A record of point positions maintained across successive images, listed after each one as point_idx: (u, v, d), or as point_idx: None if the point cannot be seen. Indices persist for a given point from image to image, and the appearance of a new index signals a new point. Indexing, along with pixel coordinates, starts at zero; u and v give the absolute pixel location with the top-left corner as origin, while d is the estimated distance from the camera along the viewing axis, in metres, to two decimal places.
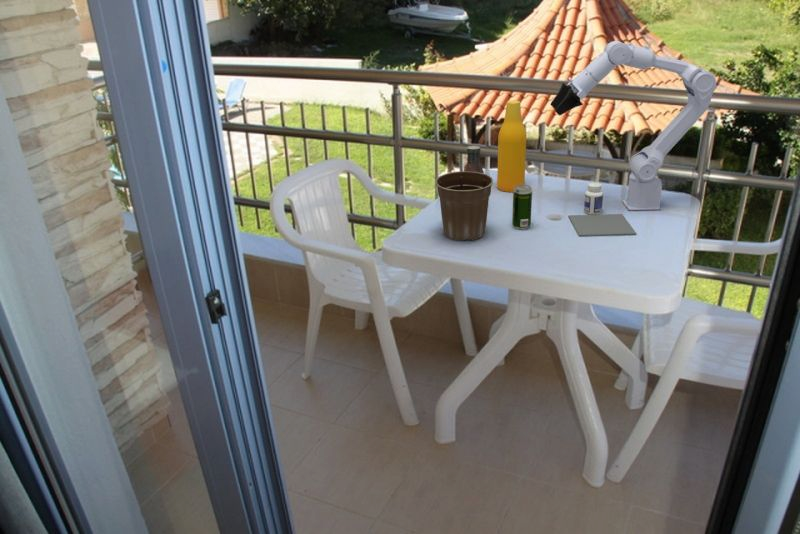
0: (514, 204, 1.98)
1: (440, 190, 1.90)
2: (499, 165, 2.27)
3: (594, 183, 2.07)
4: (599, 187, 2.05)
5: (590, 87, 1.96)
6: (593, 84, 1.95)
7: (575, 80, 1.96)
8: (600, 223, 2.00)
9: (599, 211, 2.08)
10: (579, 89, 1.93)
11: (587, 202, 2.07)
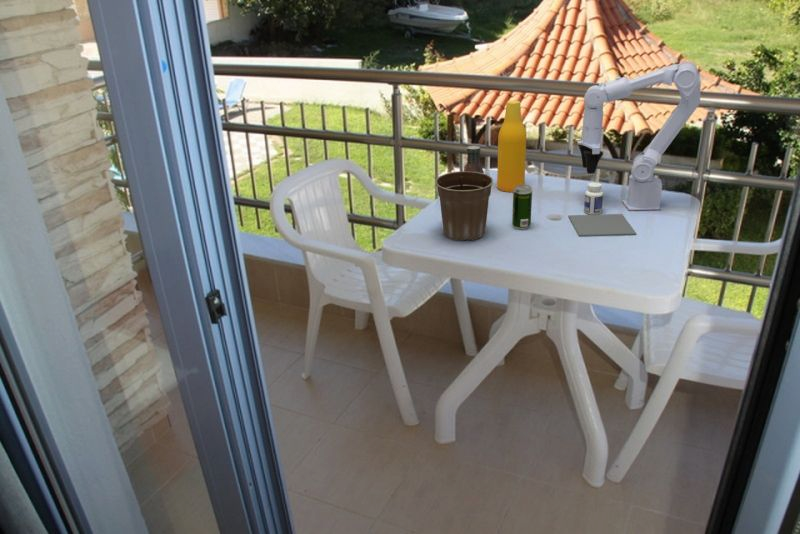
0: (514, 204, 1.98)
1: (440, 190, 1.90)
2: (499, 165, 2.27)
3: (594, 183, 2.07)
4: (599, 187, 2.05)
5: (598, 136, 2.07)
6: (599, 132, 2.06)
7: (583, 141, 2.09)
8: (600, 223, 2.00)
9: (599, 211, 2.08)
10: (591, 147, 2.05)
11: (587, 202, 2.07)
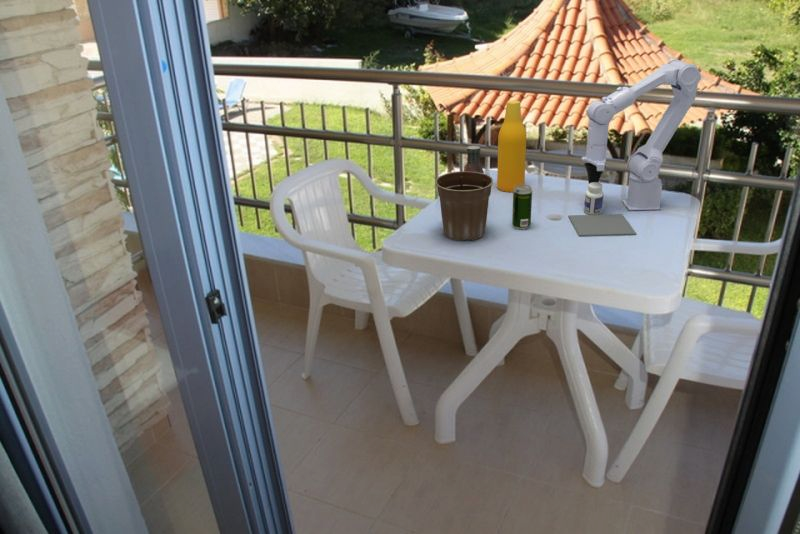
0: (514, 204, 1.98)
1: (440, 190, 1.90)
2: (499, 165, 2.27)
3: (595, 183, 2.06)
4: (600, 188, 2.04)
5: (603, 152, 2.01)
6: (603, 148, 2.01)
7: (587, 157, 2.03)
8: (600, 223, 2.00)
9: (599, 211, 2.07)
10: (595, 164, 2.00)
11: (587, 202, 2.07)
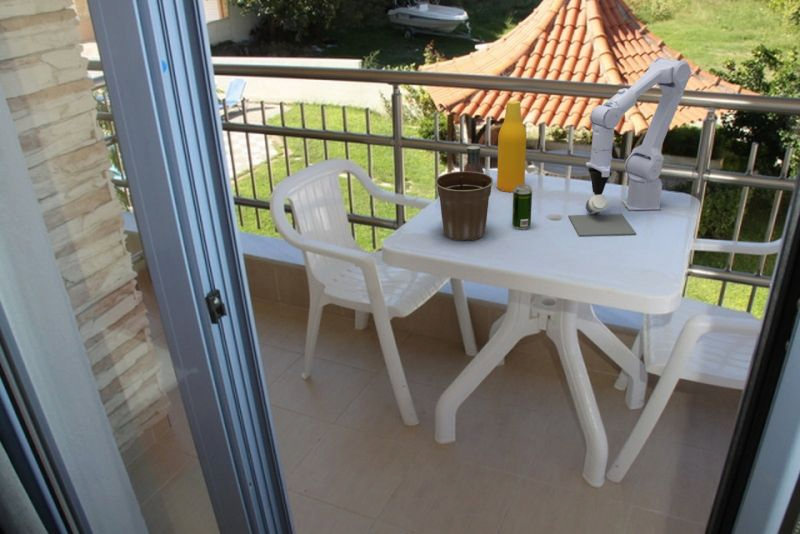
0: (514, 204, 1.98)
1: (440, 190, 1.90)
2: (499, 165, 2.27)
3: (600, 198, 1.99)
4: (603, 207, 1.99)
5: (608, 158, 1.96)
6: (608, 154, 1.95)
7: (592, 162, 1.98)
8: (600, 223, 2.00)
9: None
10: (600, 170, 1.94)
11: (589, 209, 2.04)
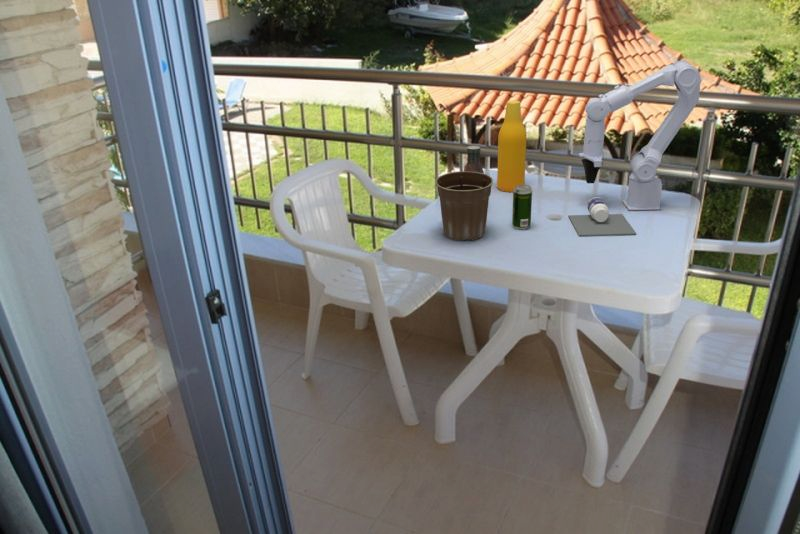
0: (514, 204, 1.98)
1: (440, 190, 1.90)
2: (499, 165, 2.27)
3: (602, 213, 1.98)
4: None
5: (600, 149, 2.05)
6: (600, 145, 2.04)
7: (584, 153, 2.07)
8: (600, 223, 2.00)
9: None
10: (592, 160, 2.03)
11: (590, 213, 2.04)
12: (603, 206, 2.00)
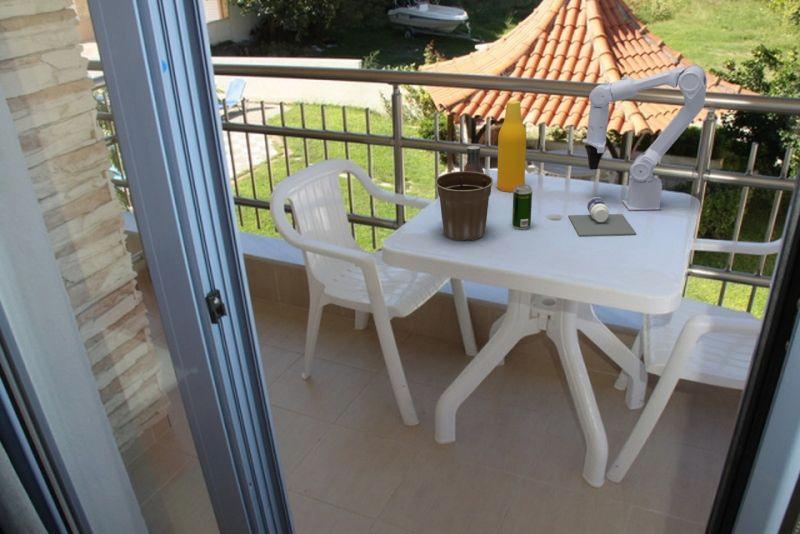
0: (514, 204, 1.98)
1: (440, 190, 1.90)
2: (499, 165, 2.27)
3: (602, 213, 1.98)
4: None
5: (604, 135, 2.07)
6: (604, 131, 2.07)
7: (588, 139, 2.09)
8: (600, 223, 2.00)
9: None
10: (596, 146, 2.06)
11: (590, 213, 2.04)
12: (603, 206, 2.00)
